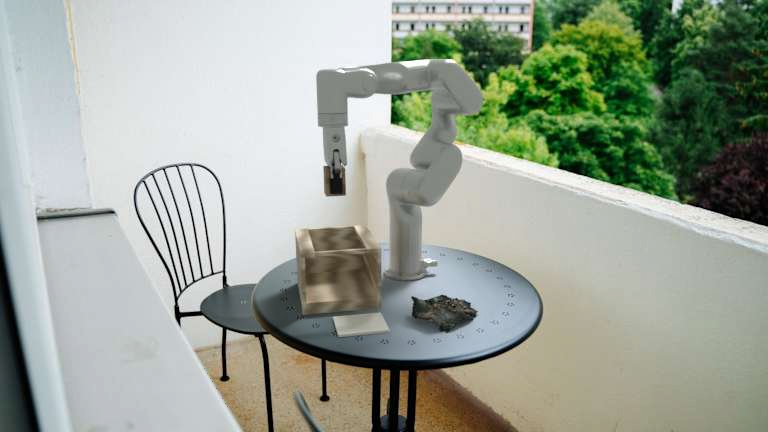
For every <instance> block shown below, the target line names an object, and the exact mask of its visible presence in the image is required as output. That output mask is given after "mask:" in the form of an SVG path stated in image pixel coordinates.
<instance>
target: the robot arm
mask: <svg viewBox="0 0 768 432" xmlns="http://www.w3.org/2000/svg"><path fill="white" fill-rule="evenodd" d="M315 76H316V77H315V78H316V82H315V83H316V106H317V127H319V128H322V141H323V142H322V145H323V157H324V158H323V159H324V162H325V164H326V166H329V167H330V175H331V178H330V193H331V194H341V193H343V181H342V170H341V165H343V166H344V167H346V166H347V165H348V156H347V139H346V130H345V127H349V119H348V118H349V112H348V109H349V106H348V99H350V98H351V99H361V100H362V99H368V98H370V97H372V96H373V95H374V94H377V95H378V94H380V95H402V94H403V95H404V94H409V93H417V92H418V93H419V92H425V91H432V93H431V95H430V107H431V108H430V109H431V118H432V119H431V123H430V125H429V127H428V129H427V130H426V132H425V133H424V134H423V136H422V137H420V138H421V139H419V141H418V142H417V143H416V146H415V147H414V148H413V150H412V151H411V153H410V157H409V163H410V165H411V167H413V168H410V167H409V168H408V167H397V168H395V169H393V170H392V171H391V172H390V173H389V174H388V176H387V178H386V181H385V189H386V196H387V201H388V211H389V265H387V266H385V267H384V269H383V270H384V275H385V276H386V277H388V278H390V279H393V280H397V281H414V280H415V281H416V280H419V279H423V278H424V277H425V276H427V273H428V272H427V271H428V270H427V269H428V268H435V267H438V264H439V263H438V260H437V259H436V260H435V259H431V258H425V259H424V258H423V257H422V256H423V254H422V252H423V249H422V248H423V212H422V208H421V207H425V208H430V207H433V206H435V205H436V204H437V203H438V202H440V200H441V199H442V198H443V196H444V195H445V193H446V192H447V190H448V189H449V188H450V186H451V185H452V183H453V182H454V180H455V179H456V178H457V176H458V174H459V173H460V171H461V168H462V165H463V160H464V159H463V153H462V151H461V149H460V147H458V146H457V145H456V144H454V142H455V140H457V139H456V138H457V135H458V129H457V128H458V127H457V123H456V122H457V121H456V118H455V117H456V116H465V117H468V116H473V115H474V116H475V115H476V114H478V113H479V112H480V110H482V107H483V104H484V97H483V93H482V90H481V88H480V87H479V86H478V85H477V83H476V82H475V81H474V80H473V78H472V77H471V76H470V75H469V74H468V72H467V71H466V70H465V69H464V68H463V67H462V66H461V65H460V64H459V63H458V62H456V61H455V60H453V59H451V58H450V59H449V58H439V59H438V58H434V59H433V58H432V59H431V58H429V59H416V60H407V61H406V60H404V61H394V62H385V63H377V64H369V65H359V66H347V67H346V66H345V67H339V68H336V69H335V68H329V69H327V68H326V69H319V70H318V71H317V72H316V75H315ZM455 115H456V116H455ZM334 165H335V166H334Z"/></svg>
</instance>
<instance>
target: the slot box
mask: <svg viewBox="0 0 768 432" xmlns="http://www.w3.org/2000/svg"><path fill="white" fill-rule="evenodd" d="M294 232H295V233H294V236H295V239H294V240H295V259H296V261H295V262H296V277H297V278H296V279H297V288H298V294H299V299H300V305H301V311H302V315H303V316H304V315H307V316H308V315H315V314H316V315H317V314H318V315H319V314H326V313H327V314H328V313H338V312H339V313H340V312H350V311H359V310H360V311H361V310H363V311H364V310H371V309H372V310H373V309H381V308H382V299H383V298H382V295H383V294H382V247H381V246H380V244H379V243H378V241H377V240H376V238H375V237H374V235H373V234H372V232H371V230H370V229H369V228H368V226H367V225H366V224H363V225H362V224H360V225H359V224H358V225H344V226H343V225H342V226H328V227H324V226H323V227H311V228H295V229H294Z"/></svg>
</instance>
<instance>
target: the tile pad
mask: <svg viewBox="0 0 768 432" xmlns="http://www.w3.org/2000/svg"><path fill="white" fill-rule="evenodd" d="M332 321H333V324H334V328H335V330H336V334H337V337H338V338H344V337H353V336H354V337H356V336H367V335H374V334H375V335H377V334H386V333H390V328H389V326H388V323H387V322H386V320H385V318H384V316H383V314H382V312H372V313H371V312H370V313H360V314H349V315H348V314H347V315H338V316H332Z"/></svg>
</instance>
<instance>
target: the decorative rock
mask: <svg viewBox="0 0 768 432" xmlns="http://www.w3.org/2000/svg"><path fill="white" fill-rule="evenodd" d="M410 299H411V300H412V302H413V303H412V307H411V308H412V309H411V311H412V312H411V317H413V318H414V319H416V320H419V321H425V322H429V321H432V324H435V325H436V326H437V328H438V329H439V331H440V332H441V333H443V332H445V334H447V333H449V332H450V330H451V328H452V327H453V326H457V325H458V324H459V322H460V321H462V320H469V319H470V320H473V321H474V320H475V319H476V315H477V313H478V310H476V309H475V308H473V307H472V306H471V305H472V302H469V301H467V300H465V299H459V298H458V297H455V298H452V297H449V296H448V295H445V294H440V295H437V296H434V297H431V298H427V299H420V298H418V297H416V296H411V297H410Z"/></svg>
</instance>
